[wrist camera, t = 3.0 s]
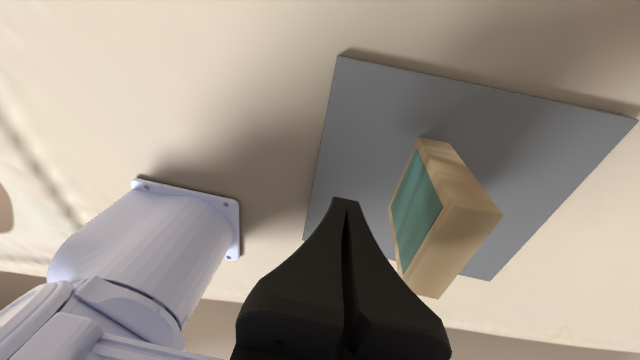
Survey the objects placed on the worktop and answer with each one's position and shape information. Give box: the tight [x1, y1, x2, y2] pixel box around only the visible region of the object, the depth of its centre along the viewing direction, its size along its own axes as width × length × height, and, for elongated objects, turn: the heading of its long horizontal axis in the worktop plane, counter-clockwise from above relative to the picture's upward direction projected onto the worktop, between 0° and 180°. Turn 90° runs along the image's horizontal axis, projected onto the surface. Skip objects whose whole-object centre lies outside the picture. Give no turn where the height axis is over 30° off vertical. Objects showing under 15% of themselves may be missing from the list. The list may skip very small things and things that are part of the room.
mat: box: [302, 55, 639, 281], centre depth 18 cm, size 17×15×1 cm
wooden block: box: [388, 137, 504, 299], centre depth 14 cm, size 2×6×7 cm, turn 171°
